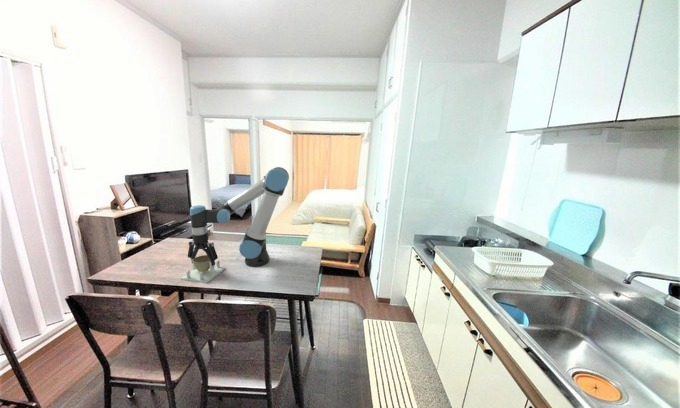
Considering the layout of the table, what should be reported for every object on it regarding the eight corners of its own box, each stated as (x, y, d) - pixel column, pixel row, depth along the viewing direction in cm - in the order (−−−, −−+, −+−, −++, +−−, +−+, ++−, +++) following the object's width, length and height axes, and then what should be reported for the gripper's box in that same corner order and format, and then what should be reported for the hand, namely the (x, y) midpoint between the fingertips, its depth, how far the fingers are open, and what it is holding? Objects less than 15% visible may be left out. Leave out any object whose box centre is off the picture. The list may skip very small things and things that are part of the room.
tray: (225, 268, 144) (224, 261, 143) (207, 282, 128) (206, 274, 127) (201, 266, 146) (201, 258, 145) (181, 279, 131) (180, 271, 130)
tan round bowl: (205, 275, 131) (203, 263, 129) (189, 273, 133) (188, 261, 131) (217, 267, 141) (216, 255, 139) (203, 265, 142) (201, 254, 141)
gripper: (222, 232, 134) (225, 268, 139) (187, 229, 137) (191, 264, 142) (214, 237, 127) (217, 274, 131) (176, 233, 130) (181, 270, 135)
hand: (204, 269), depth 137 cm, fingers closed on tan round bowl, 10 cm apart
